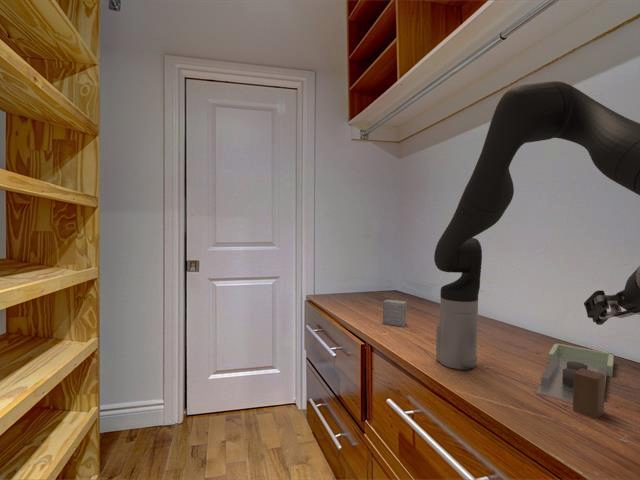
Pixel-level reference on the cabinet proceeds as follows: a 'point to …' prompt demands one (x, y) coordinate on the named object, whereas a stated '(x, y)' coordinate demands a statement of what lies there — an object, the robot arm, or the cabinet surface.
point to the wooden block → (588, 393)
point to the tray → (583, 355)
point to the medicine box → (394, 312)
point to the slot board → (554, 376)
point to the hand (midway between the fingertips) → (626, 318)
